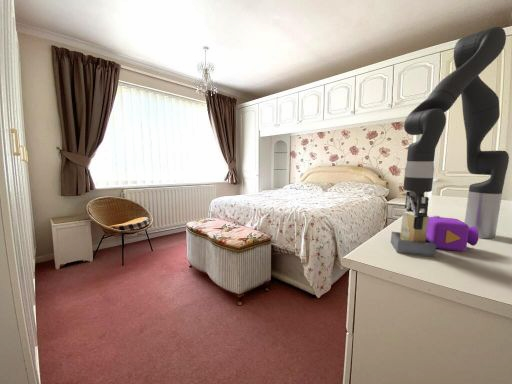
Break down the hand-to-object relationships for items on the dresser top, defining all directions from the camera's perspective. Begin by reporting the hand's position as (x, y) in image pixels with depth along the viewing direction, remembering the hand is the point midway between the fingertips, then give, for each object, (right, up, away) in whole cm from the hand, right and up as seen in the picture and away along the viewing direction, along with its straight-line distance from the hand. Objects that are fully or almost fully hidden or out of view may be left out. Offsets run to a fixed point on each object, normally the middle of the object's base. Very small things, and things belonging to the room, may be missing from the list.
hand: (413, 225), depth 75 cm
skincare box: (0, -8, +1) cm, 8 cm away
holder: (0, -8, +1) cm, 8 cm away
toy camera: (+15, -8, +4) cm, 17 cm away
